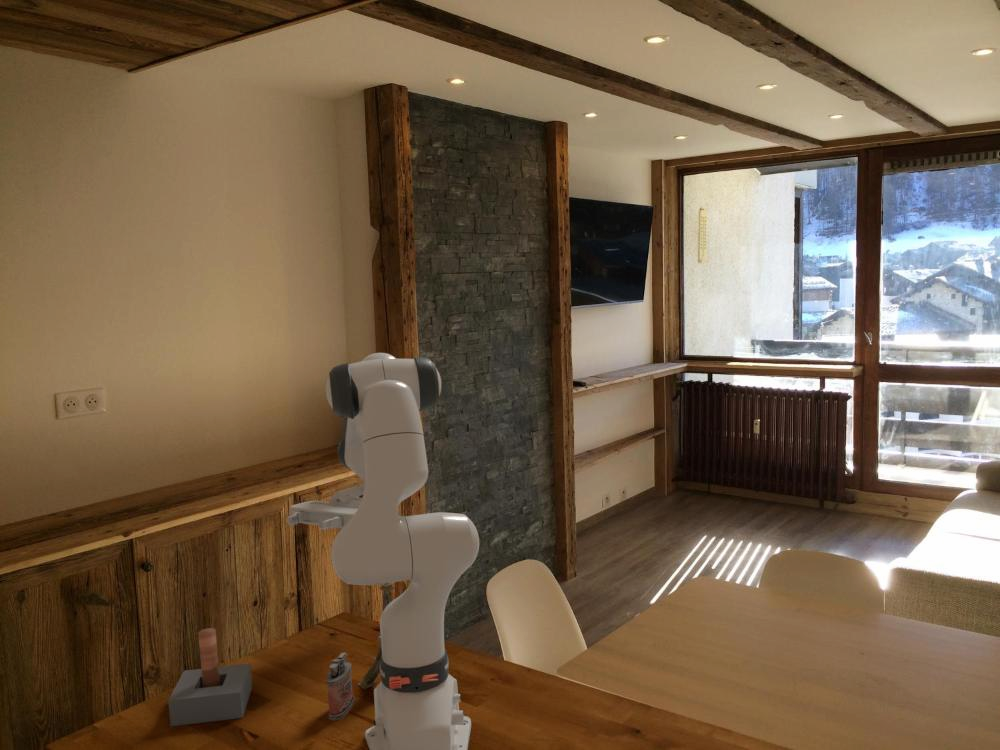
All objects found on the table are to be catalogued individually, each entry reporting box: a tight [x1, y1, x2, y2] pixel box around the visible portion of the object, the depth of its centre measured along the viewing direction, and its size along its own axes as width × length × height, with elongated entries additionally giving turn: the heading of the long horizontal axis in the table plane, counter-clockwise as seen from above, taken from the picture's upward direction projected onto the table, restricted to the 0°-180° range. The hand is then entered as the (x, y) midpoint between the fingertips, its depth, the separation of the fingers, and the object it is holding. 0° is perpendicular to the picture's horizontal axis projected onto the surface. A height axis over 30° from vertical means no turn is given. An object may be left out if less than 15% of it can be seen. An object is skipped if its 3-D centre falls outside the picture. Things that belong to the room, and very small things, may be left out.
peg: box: [197, 627, 220, 688], centre depth 164 cm, size 3×3×14 cm
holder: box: [167, 662, 253, 727], centre depth 164 cm, size 13×13×5 cm
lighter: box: [325, 652, 355, 721], centre depth 160 cm, size 8×3×10 cm, turn 168°
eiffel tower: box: [357, 582, 396, 690], centre depth 168 cm, size 11×11×25 cm
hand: (305, 523), depth 181 cm, fingers open, 8 cm apart
